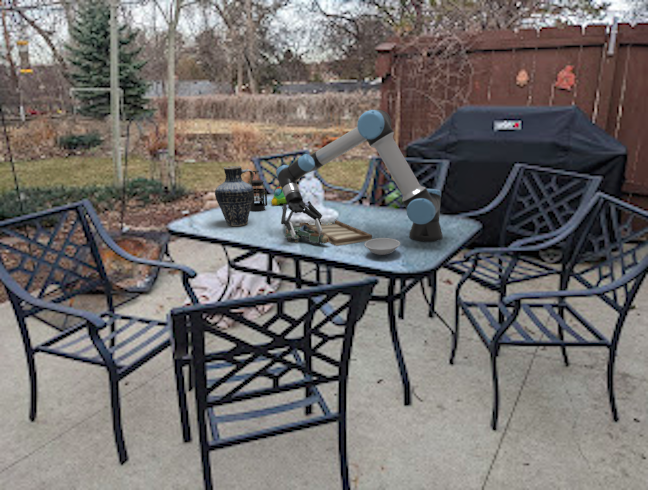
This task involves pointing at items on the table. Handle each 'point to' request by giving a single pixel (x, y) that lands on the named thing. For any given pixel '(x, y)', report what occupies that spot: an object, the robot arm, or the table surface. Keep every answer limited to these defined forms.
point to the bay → (340, 233)
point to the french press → (259, 206)
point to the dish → (382, 245)
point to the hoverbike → (306, 235)
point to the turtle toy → (278, 197)
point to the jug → (235, 196)
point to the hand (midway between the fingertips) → (307, 234)
